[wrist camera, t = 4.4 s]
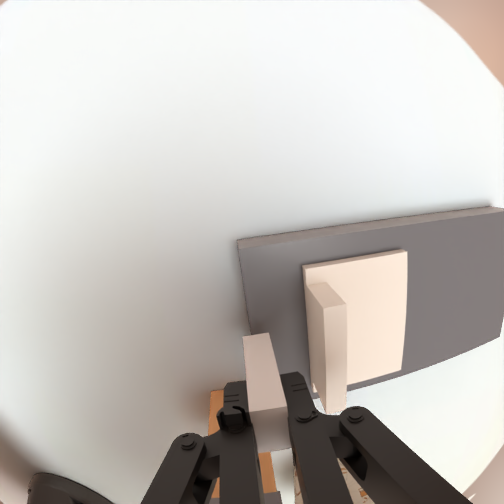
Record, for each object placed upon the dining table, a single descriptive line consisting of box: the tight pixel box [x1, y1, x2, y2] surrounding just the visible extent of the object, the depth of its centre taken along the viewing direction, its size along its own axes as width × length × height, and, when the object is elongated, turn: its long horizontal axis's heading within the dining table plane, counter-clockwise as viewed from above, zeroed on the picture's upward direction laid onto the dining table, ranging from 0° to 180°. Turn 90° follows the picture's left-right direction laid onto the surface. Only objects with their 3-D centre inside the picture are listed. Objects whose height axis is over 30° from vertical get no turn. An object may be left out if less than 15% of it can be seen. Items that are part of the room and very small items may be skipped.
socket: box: [237, 206, 504, 399], centre depth 21 cm, size 23×12×3 cm, turn 98°
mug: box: [294, 458, 375, 504], centre depth 22 cm, size 8×12×10 cm, turn 75°
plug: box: [208, 390, 282, 504], centre depth 18 cm, size 4×4×12 cm
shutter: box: [302, 249, 407, 414], centre depth 18 cm, size 7×9×4 cm
